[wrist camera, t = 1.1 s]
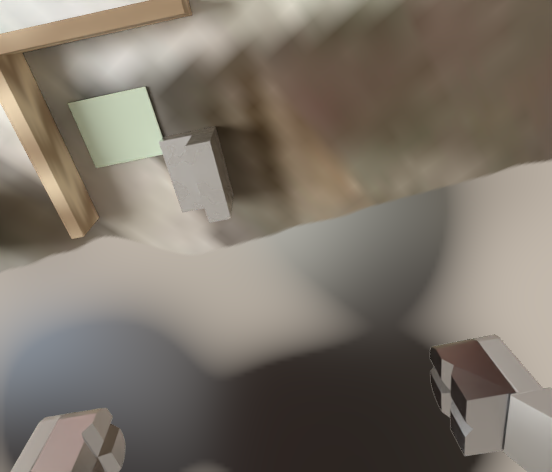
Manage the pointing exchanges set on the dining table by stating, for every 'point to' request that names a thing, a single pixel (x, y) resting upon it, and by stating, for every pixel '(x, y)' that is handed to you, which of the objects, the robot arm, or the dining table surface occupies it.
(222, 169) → the bracket
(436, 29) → the dining table surface
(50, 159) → the corner walls
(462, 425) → the robot arm
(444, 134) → the dining table surface
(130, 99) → the pad
